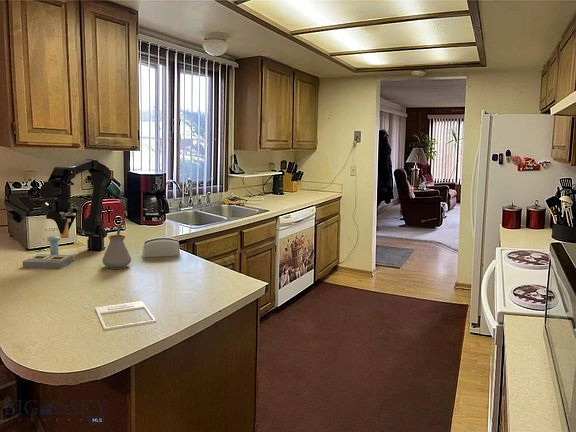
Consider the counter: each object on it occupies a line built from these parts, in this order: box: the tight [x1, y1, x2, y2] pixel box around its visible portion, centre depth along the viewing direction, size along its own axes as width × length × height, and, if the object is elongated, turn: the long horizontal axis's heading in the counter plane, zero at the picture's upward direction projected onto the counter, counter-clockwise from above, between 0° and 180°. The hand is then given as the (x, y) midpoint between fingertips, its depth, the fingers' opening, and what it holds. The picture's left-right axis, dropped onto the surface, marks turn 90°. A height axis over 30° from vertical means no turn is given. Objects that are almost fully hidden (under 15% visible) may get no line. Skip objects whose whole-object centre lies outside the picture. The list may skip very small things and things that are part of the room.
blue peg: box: [46, 235, 61, 255], centre depth 209 cm, size 5×5×8 cm
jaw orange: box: [59, 218, 71, 239], centre depth 199 cm, size 5×5×8 cm
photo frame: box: [94, 300, 157, 331], centre depth 144 cm, size 15×1×18 cm
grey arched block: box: [142, 236, 181, 258], centre depth 215 cm, size 17×5×10 cm, turn 110°
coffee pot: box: [101, 224, 133, 270], centre depth 199 cm, size 21×12×15 cm, turn 15°
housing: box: [22, 253, 75, 270], centre depth 194 cm, size 15×12×3 cm
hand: (64, 232), depth 199 cm, fingers closed on jaw orange, 4 cm apart
